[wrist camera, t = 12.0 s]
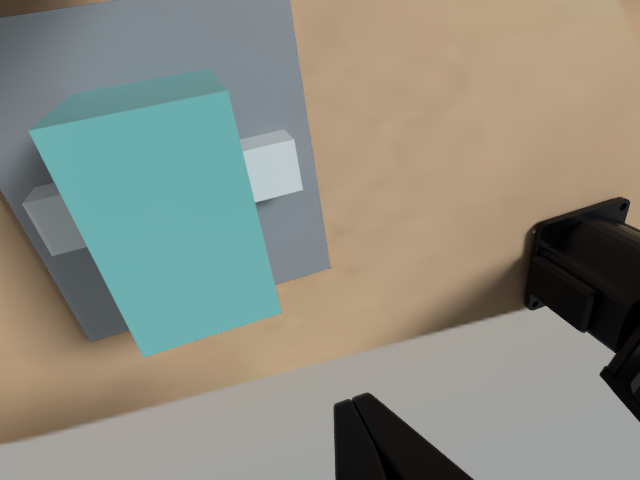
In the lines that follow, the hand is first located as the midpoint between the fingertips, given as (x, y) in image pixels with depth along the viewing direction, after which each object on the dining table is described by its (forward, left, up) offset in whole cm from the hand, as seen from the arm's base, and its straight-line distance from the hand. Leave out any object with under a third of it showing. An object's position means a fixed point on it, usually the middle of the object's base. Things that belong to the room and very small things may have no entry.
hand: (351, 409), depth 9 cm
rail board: (+3, -3, -11) cm, 12 cm away
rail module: (+3, -3, -10) cm, 11 cm away
